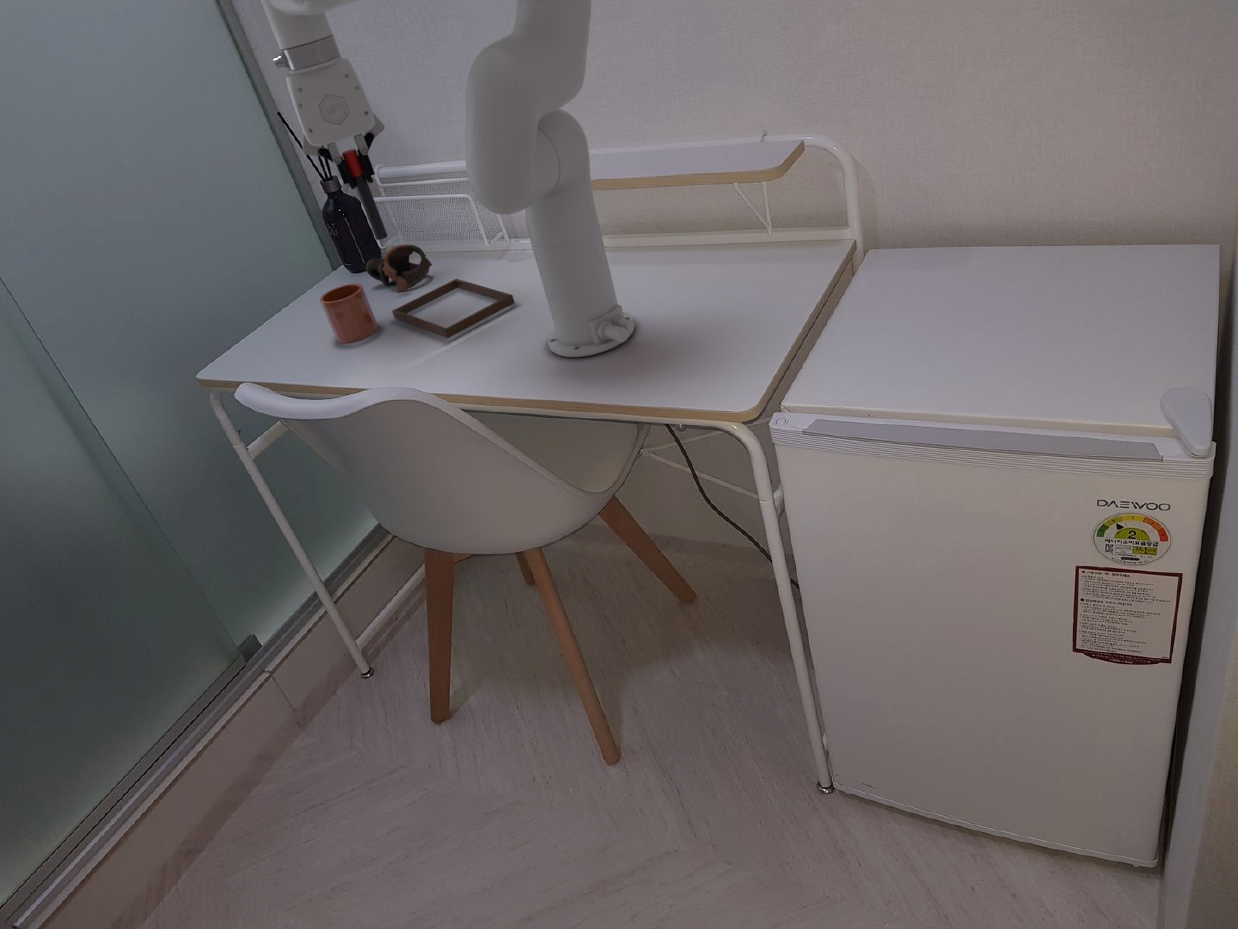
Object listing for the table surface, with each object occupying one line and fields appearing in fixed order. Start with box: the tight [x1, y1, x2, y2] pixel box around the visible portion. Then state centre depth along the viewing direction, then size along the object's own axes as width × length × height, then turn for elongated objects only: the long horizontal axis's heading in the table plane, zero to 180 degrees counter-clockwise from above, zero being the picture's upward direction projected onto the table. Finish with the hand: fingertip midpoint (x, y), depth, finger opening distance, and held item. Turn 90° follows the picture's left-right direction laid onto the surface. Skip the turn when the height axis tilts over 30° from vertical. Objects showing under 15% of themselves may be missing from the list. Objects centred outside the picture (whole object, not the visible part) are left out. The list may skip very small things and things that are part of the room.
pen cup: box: [319, 283, 379, 344], centre depth 150 cm, size 7×7×8 cm
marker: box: [341, 148, 388, 241], centre depth 140 cm, size 2×2×14 cm
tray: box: [391, 278, 517, 343], centre depth 151 cm, size 17×13×2 cm
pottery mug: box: [365, 244, 433, 293], centre depth 166 cm, size 12×10×8 cm
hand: (361, 183), depth 139 cm, fingers closed on marker, 2 cm apart
